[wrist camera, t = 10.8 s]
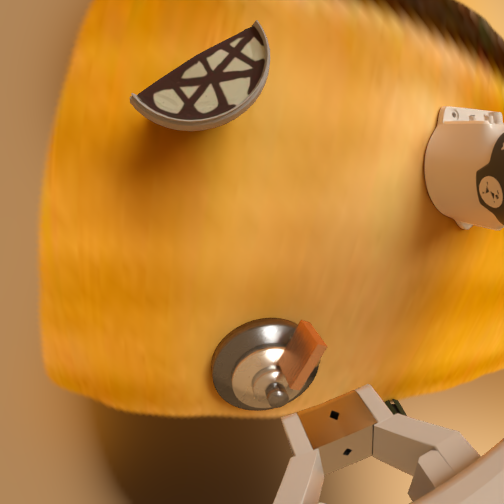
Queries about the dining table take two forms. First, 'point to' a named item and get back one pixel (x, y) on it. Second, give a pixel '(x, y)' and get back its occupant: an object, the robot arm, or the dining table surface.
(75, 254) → the dining table surface
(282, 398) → the handwheel with crank handle
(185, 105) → the food container
